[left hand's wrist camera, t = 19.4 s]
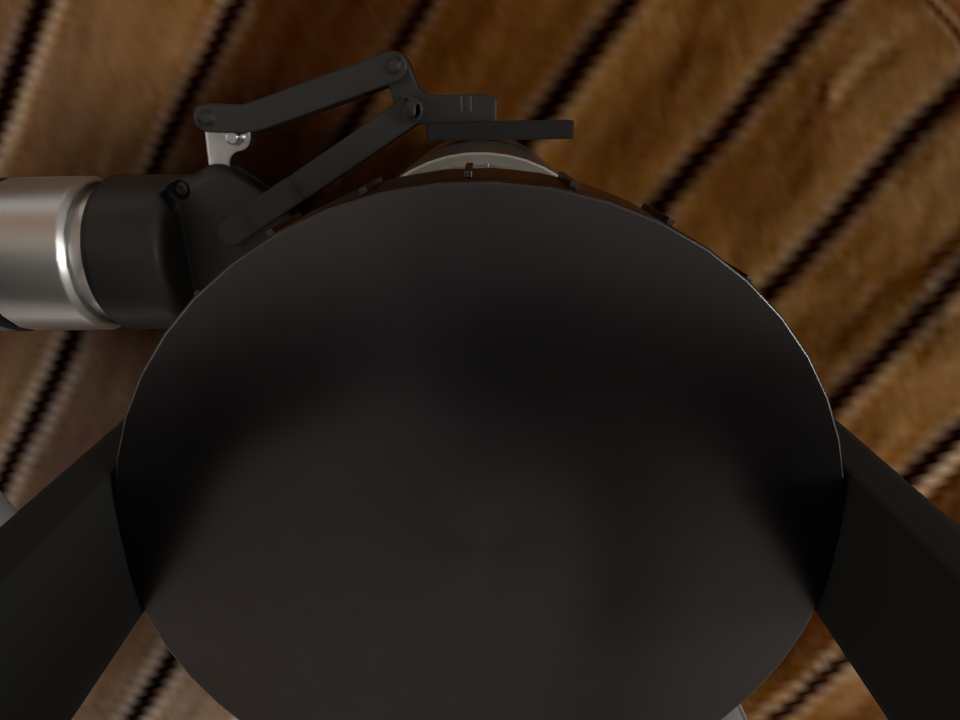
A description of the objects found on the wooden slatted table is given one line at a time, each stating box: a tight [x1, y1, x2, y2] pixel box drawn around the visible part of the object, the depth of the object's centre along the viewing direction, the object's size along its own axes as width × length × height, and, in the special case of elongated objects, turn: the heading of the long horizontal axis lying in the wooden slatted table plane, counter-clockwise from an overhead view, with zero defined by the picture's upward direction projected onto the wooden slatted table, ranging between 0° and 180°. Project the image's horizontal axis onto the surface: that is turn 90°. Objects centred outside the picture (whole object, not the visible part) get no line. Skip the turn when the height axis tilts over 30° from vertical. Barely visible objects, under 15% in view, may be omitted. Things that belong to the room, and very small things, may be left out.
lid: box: [115, 163, 844, 720], centre depth 11 cm, size 12×12×2 cm
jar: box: [398, 140, 558, 177], centre depth 30 cm, size 10×10×18 cm
